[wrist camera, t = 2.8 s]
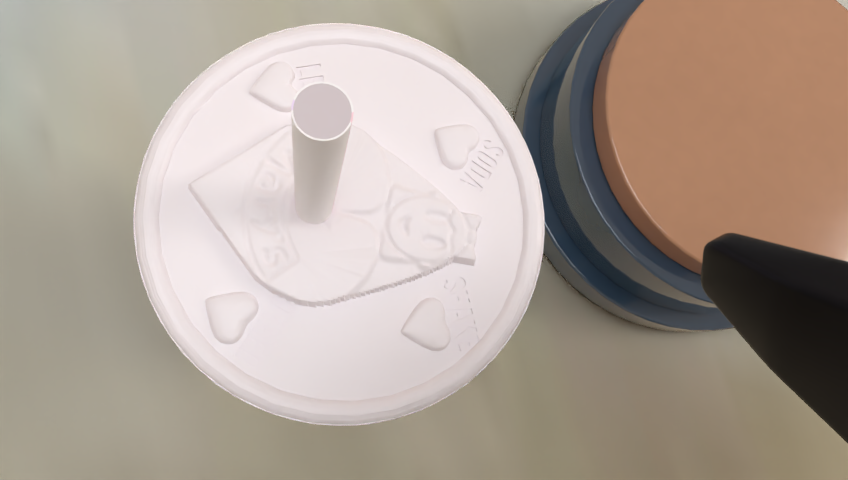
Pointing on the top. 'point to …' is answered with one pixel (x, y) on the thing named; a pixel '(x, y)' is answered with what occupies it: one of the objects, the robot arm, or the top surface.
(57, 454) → the top surface
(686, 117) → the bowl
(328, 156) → the smoothie
